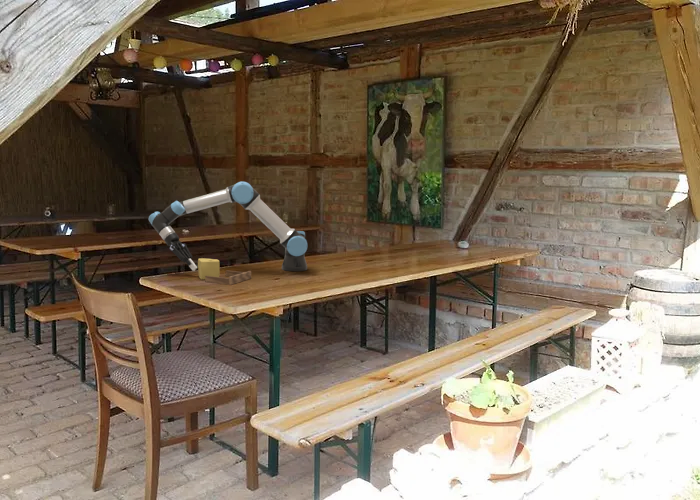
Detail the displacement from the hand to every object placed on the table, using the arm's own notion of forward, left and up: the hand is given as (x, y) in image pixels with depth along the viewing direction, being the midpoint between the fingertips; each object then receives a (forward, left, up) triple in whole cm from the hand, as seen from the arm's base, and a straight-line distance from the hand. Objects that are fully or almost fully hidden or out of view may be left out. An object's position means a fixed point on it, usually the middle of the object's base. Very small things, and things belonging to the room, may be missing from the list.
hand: (195, 269), depth 330 cm
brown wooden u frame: (0, +20, -4) cm, 21 cm away
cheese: (0, +8, -4) cm, 9 cm away
